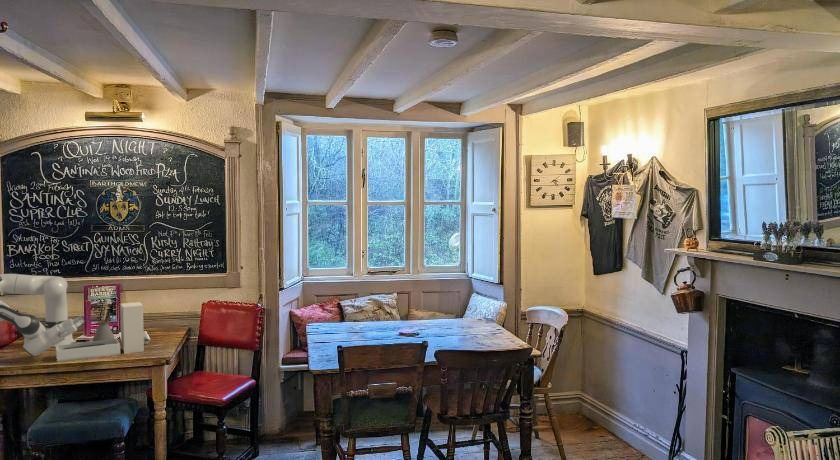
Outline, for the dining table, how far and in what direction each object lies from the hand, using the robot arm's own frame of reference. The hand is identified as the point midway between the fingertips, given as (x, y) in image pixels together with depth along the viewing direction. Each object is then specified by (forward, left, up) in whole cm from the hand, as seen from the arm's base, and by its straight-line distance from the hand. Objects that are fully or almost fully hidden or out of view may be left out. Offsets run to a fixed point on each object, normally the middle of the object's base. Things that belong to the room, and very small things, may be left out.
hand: (82, 318), depth 331 cm
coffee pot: (-31, +14, -21) cm, 40 cm away
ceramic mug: (-14, +30, -21) cm, 39 cm away
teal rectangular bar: (0, 0, -19) cm, 19 cm away
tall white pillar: (0, +24, -20) cm, 32 cm away
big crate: (0, +2, -20) cm, 21 cm away
